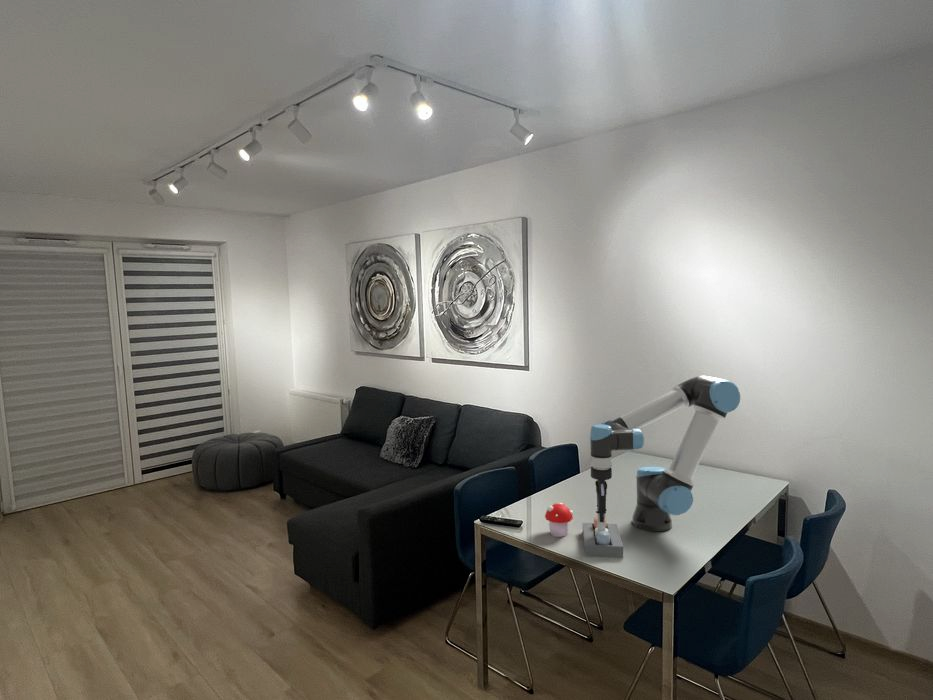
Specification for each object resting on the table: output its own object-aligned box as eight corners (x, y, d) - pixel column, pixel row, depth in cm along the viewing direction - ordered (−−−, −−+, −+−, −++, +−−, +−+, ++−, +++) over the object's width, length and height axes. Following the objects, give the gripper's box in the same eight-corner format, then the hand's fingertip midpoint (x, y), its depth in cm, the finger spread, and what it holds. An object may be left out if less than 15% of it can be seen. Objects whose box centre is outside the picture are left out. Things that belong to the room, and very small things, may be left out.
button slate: (609, 543, 195) (609, 531, 195) (610, 548, 190) (610, 536, 190) (596, 542, 196) (595, 530, 195) (597, 548, 191) (596, 536, 191)
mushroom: (569, 527, 216) (569, 498, 215) (576, 539, 205) (575, 508, 204) (543, 528, 215) (542, 499, 214) (548, 540, 204) (548, 509, 203)
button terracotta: (606, 528, 208) (606, 517, 207) (607, 533, 203) (607, 522, 203) (593, 527, 208) (593, 516, 208) (594, 533, 204) (594, 521, 203)
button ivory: (607, 538, 201) (607, 527, 201) (609, 544, 197) (608, 532, 196) (594, 538, 202) (594, 526, 202) (595, 543, 197) (595, 532, 197)
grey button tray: (616, 533, 208) (616, 523, 208) (623, 557, 189) (623, 546, 188) (582, 532, 210) (582, 522, 210) (585, 555, 191) (585, 545, 190)
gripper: (589, 461, 204) (589, 521, 206) (591, 472, 191) (592, 536, 193) (609, 462, 203) (610, 522, 205) (613, 472, 190) (613, 537, 192)
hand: (601, 529), depth 199 cm, fingers closed
